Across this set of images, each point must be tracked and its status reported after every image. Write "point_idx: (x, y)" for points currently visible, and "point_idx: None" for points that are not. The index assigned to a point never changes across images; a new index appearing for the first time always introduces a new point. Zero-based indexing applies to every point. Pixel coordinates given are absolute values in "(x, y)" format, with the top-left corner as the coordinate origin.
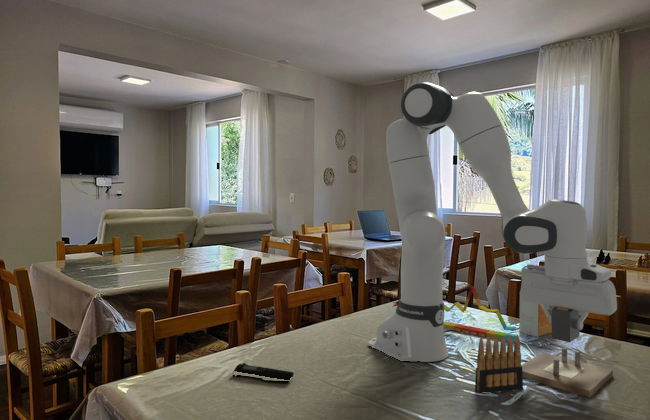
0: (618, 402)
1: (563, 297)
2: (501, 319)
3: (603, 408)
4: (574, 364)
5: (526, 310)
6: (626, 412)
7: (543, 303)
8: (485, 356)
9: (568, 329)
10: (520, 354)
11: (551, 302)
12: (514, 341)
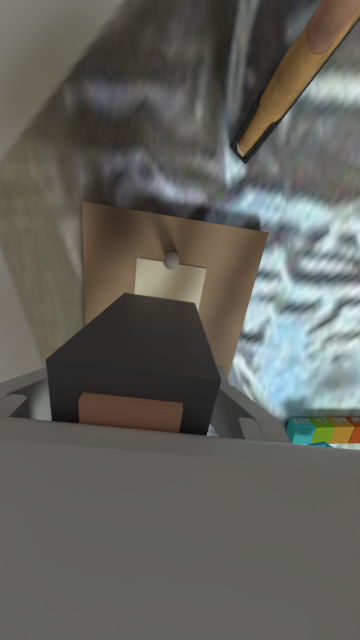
0: (38, 222)
1: (61, 606)
2: None
3: (48, 158)
4: None
5: None
6: (6, 171)
7: (312, 451)
8: None
9: (114, 307)
10: (285, 56)
11: (244, 468)
12: (287, 426)
